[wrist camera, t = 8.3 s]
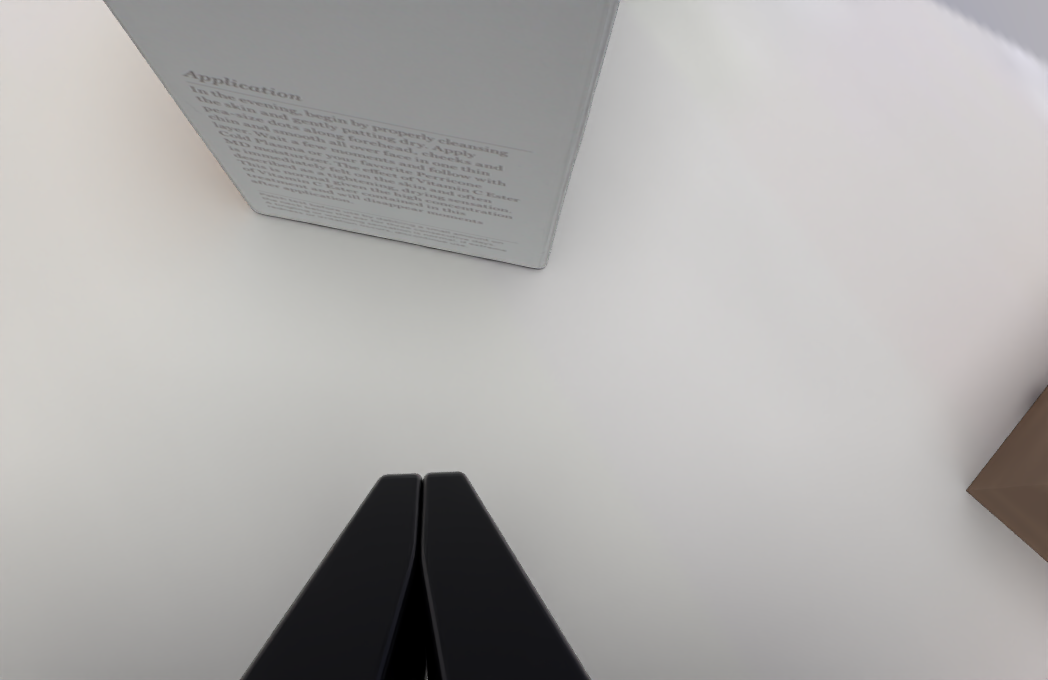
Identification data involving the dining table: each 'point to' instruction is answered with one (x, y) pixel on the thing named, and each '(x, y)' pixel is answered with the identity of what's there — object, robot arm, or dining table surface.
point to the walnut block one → (1020, 479)
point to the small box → (389, 109)
